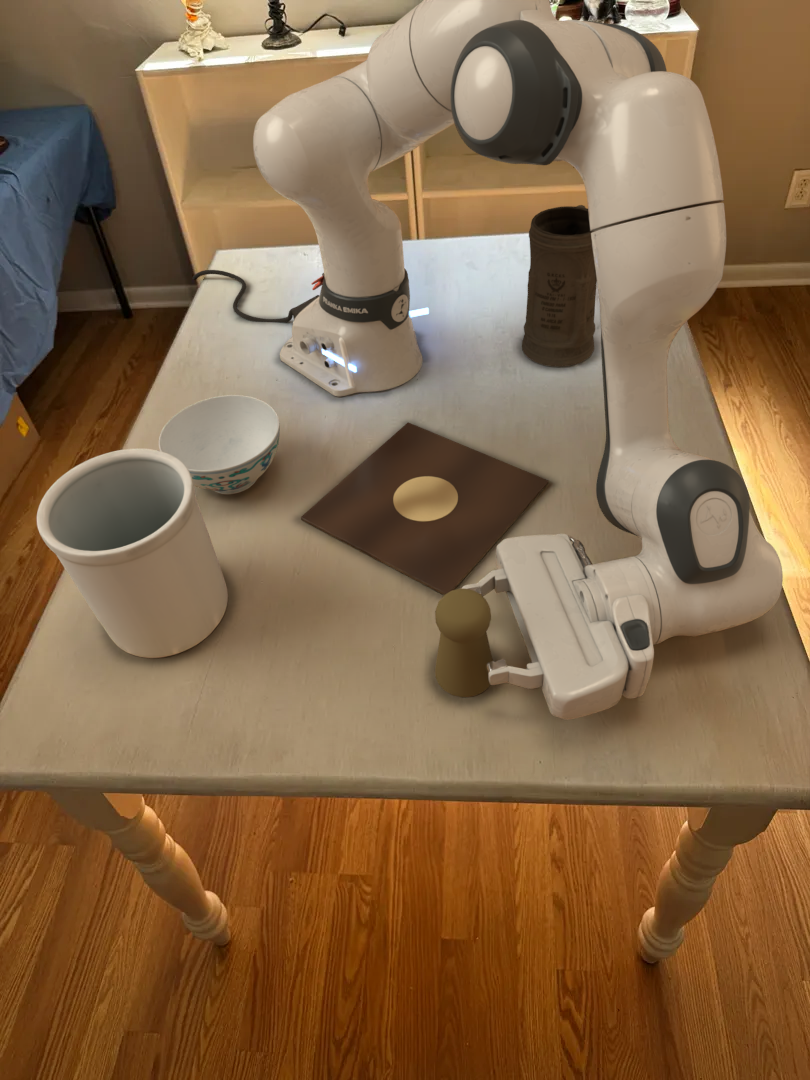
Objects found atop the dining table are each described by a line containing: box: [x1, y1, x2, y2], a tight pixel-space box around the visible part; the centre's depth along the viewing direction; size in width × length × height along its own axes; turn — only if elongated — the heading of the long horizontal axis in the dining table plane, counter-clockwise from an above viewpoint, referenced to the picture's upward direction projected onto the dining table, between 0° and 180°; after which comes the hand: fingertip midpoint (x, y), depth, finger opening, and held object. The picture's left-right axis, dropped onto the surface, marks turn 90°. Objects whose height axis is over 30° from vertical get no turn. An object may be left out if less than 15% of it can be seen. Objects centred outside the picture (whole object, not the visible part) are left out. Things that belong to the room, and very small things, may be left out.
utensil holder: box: [36, 447, 229, 659], centre depth 82 cm, size 15×15×18 cm
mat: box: [300, 422, 550, 596], centre depth 97 cm, size 22×22×1 cm
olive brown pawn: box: [434, 588, 494, 698], centre depth 75 cm, size 6×6×11 cm
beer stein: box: [521, 204, 597, 368], centre depth 113 cm, size 15×11×20 cm
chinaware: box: [158, 394, 281, 495], centre depth 100 cm, size 15×15×8 cm
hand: (474, 633), depth 75 cm, fingers open, 8 cm apart
